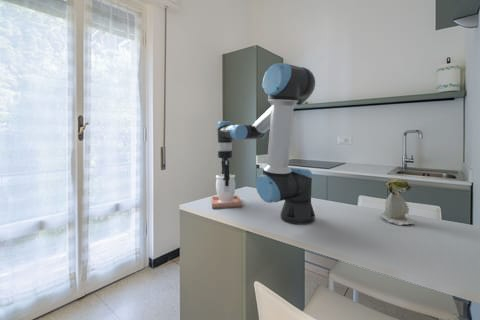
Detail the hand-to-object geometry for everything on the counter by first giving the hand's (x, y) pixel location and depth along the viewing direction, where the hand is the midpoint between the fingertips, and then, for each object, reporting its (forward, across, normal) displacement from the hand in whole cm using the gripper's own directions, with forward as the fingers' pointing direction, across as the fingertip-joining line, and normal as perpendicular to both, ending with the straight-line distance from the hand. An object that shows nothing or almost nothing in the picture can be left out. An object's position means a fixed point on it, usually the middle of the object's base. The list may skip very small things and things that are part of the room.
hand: (225, 189), depth 136 cm
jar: (+8, 0, 0) cm, 8 cm away
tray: (+8, 0, 0) cm, 8 cm away
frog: (+8, -39, -72) cm, 82 cm away
